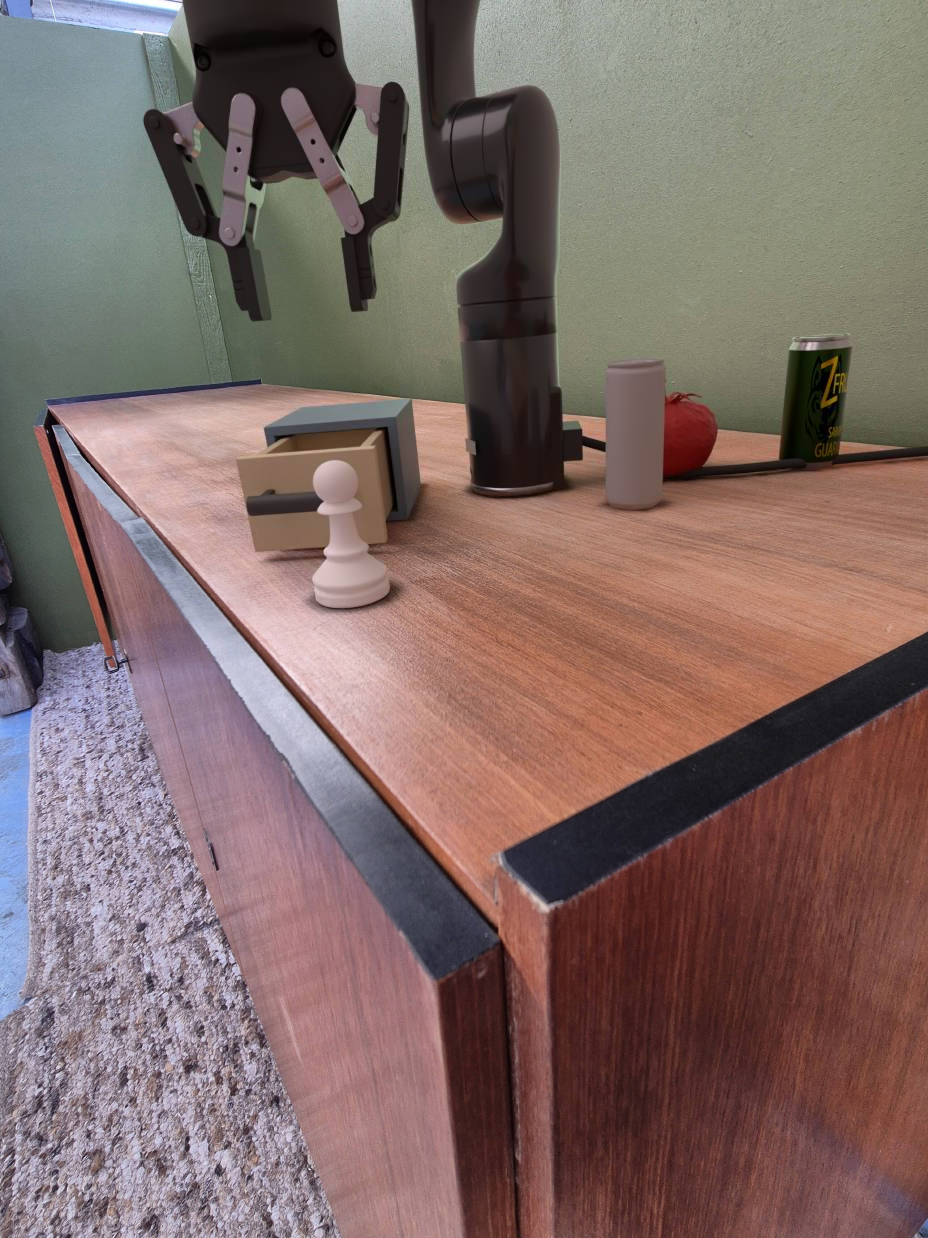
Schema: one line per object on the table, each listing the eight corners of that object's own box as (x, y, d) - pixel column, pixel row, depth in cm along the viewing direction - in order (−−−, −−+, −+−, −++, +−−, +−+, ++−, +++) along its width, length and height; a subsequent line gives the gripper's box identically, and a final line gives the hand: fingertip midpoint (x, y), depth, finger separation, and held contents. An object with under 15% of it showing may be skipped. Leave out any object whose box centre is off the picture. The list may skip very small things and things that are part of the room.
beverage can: (663, 510, 60) (667, 360, 56) (605, 511, 61) (604, 365, 57) (660, 496, 65) (664, 355, 60) (606, 497, 66) (606, 360, 61)
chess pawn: (337, 615, 45) (313, 473, 41) (303, 596, 48) (278, 463, 45) (404, 593, 47) (387, 457, 44) (367, 576, 51) (348, 449, 48)
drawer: (377, 562, 51) (363, 459, 48) (236, 571, 52) (214, 471, 49) (403, 502, 67) (394, 422, 64) (294, 510, 67) (280, 432, 64)
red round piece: (723, 481, 68) (730, 379, 64) (616, 487, 69) (616, 386, 65) (705, 460, 77) (710, 369, 73) (610, 465, 78) (610, 376, 74)
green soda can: (767, 466, 72) (778, 338, 67) (797, 457, 74) (810, 333, 70) (818, 473, 68) (833, 337, 63) (848, 462, 70) (865, 332, 66)
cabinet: (407, 519, 64) (395, 416, 61) (282, 528, 65) (263, 427, 62) (421, 485, 77) (411, 398, 73) (315, 493, 78) (301, 407, 74)
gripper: (406, -48, 37) (438, 305, 44) (141, -16, 38) (212, 325, 45) (388, -128, 30) (428, 304, 37) (65, -87, 31) (162, 328, 38)
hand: (309, 314), depth 41 cm, fingers open, 5 cm apart
